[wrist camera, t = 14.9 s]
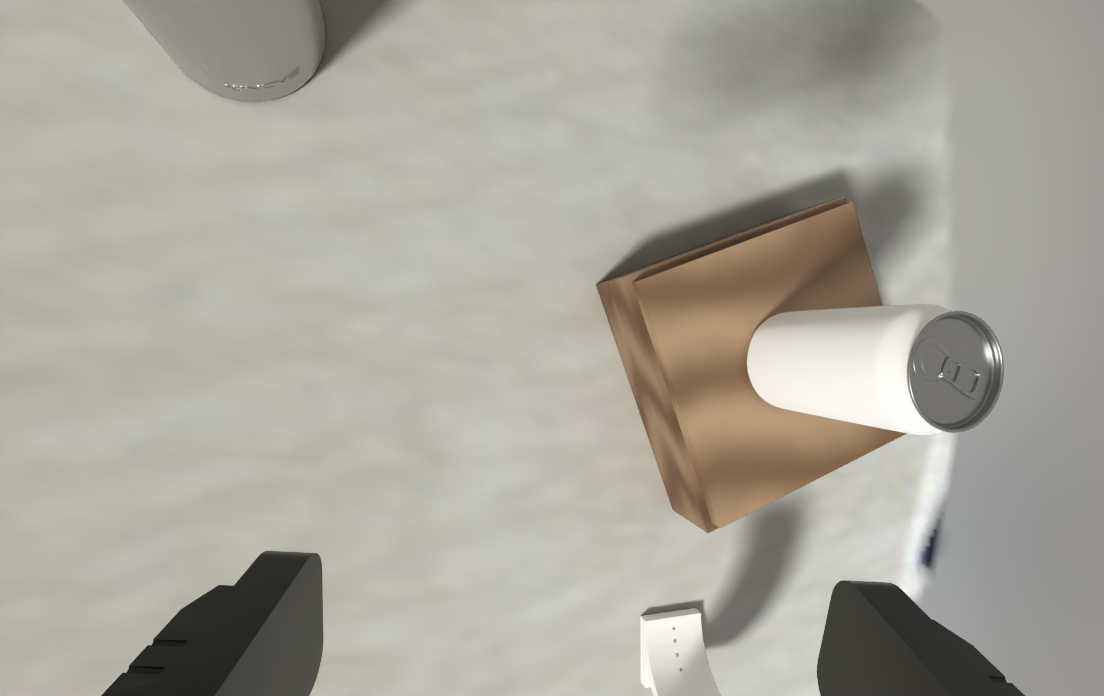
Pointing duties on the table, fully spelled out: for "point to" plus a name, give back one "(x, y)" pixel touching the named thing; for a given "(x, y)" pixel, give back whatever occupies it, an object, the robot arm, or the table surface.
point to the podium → (737, 360)
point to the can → (880, 366)
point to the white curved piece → (675, 655)
